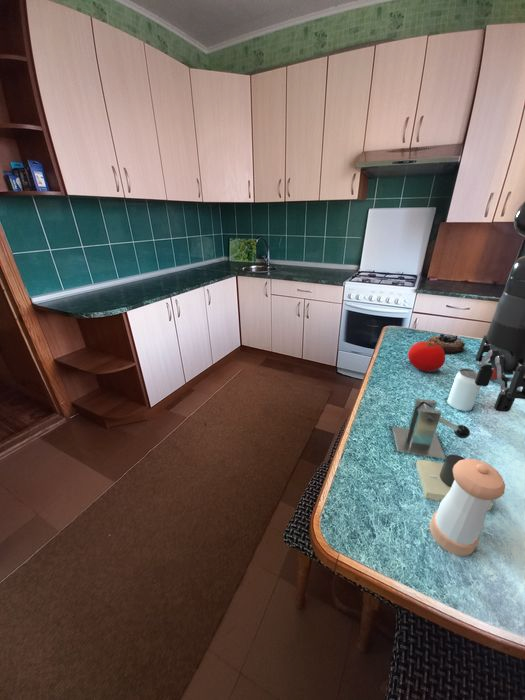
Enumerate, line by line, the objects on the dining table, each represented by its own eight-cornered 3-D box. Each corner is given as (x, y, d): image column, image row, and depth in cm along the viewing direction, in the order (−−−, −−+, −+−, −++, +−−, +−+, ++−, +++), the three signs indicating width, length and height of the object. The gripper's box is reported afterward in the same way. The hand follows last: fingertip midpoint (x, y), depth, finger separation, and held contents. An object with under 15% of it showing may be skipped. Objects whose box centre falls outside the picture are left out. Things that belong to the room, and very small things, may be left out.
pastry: (467, 352, 121) (471, 339, 118) (442, 355, 119) (446, 342, 116) (447, 341, 131) (450, 329, 128) (423, 344, 128) (427, 332, 126)
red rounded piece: (480, 381, 102) (488, 361, 98) (481, 373, 106) (488, 354, 102) (501, 386, 99) (510, 366, 95) (500, 378, 103) (509, 359, 99)
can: (445, 398, 93) (456, 366, 88) (469, 403, 91) (482, 370, 85) (447, 409, 88) (458, 376, 83) (472, 415, 85) (486, 381, 80)
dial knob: (436, 469, 65) (442, 451, 63) (460, 472, 64) (467, 455, 62) (444, 487, 61) (451, 469, 58) (469, 491, 60) (477, 473, 58)
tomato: (440, 379, 103) (448, 353, 98) (403, 370, 109) (409, 345, 104) (442, 365, 112) (449, 340, 107) (407, 357, 117) (413, 334, 113)
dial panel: (471, 477, 66) (475, 467, 65) (488, 514, 59) (493, 504, 57) (414, 467, 69) (417, 458, 68) (423, 501, 61) (427, 491, 60)
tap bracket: (434, 436, 78) (447, 397, 72) (444, 462, 71) (460, 421, 65) (391, 430, 81) (400, 392, 75) (396, 454, 73) (407, 414, 67)
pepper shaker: (482, 557, 52) (525, 484, 43) (443, 561, 51) (478, 488, 43) (455, 517, 58) (487, 447, 49) (420, 521, 58) (446, 450, 49)
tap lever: (460, 434, 73) (470, 426, 71) (464, 443, 70) (475, 435, 69) (415, 409, 73) (424, 400, 71) (418, 417, 70) (427, 408, 68)
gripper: (576, 338, 43) (533, 423, 50) (522, 307, 55) (494, 379, 62) (517, 335, 44) (484, 418, 52) (478, 306, 57) (456, 376, 64)
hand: (490, 396), depth 57 cm, fingers open, 8 cm apart
